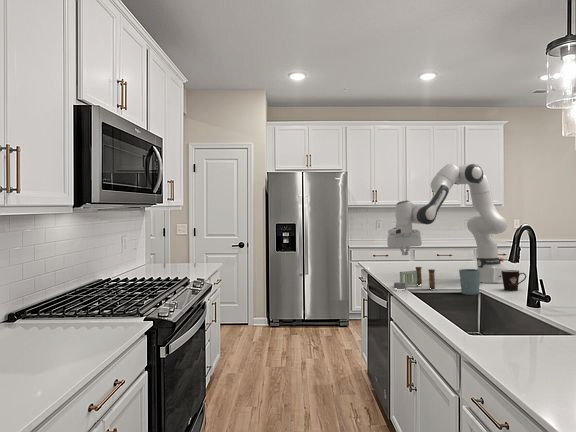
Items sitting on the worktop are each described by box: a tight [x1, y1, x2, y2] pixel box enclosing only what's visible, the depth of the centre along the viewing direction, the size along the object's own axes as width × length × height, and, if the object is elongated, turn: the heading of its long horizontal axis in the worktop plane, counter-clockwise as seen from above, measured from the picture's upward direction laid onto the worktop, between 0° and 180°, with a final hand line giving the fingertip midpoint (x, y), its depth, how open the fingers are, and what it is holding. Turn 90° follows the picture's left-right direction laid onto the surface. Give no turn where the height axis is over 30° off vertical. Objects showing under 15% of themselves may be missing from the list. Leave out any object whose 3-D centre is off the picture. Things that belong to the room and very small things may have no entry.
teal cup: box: [458, 268, 481, 296], centre depth 246 cm, size 10×10×12 cm
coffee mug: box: [501, 269, 527, 292], centre depth 251 cm, size 12×9×10 cm
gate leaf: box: [399, 270, 417, 287], centre depth 273 cm, size 2×10×8 cm, turn 113°
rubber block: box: [393, 281, 406, 289], centre depth 264 cm, size 4×4×4 cm
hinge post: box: [415, 266, 423, 285], centre depth 276 cm, size 3×3×11 cm
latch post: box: [428, 268, 436, 290], centre depth 263 cm, size 4×5×11 cm
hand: (405, 255), depth 266 cm, fingers closed
